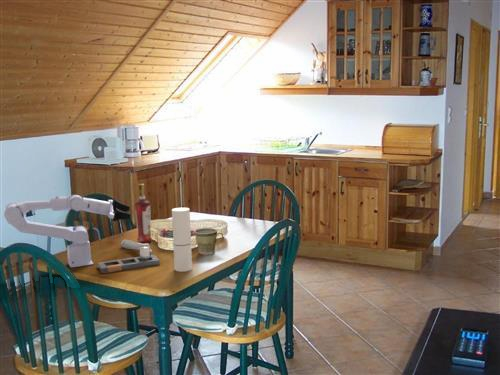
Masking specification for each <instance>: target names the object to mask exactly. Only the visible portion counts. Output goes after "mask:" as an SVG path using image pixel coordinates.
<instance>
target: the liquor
mask: <svg viewBox="0 0 500 375" xmlns="http://www.w3.org/2000/svg"><path fill="white" fill-rule="evenodd" d="M145 189H146V188H145V184H144V183H138V190H139V192H138V193H139V195H138V198H139V200H137V201H135V203H134V209H135V210H134V211H135V217H136V218H135V219H136V229H137V241H138V243H142V244H146V243H148V244H149V243H150V242H151V241H152V239H153V238H152V234H151V232H152V230H151V229H152V227H151V224H152V223H151V212H152V211H151V202H150V201H149V200H146V194H145Z"/></svg>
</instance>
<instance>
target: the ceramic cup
mask: <svg viewBox="0 0 500 375" xmlns="http://www.w3.org/2000/svg"><path fill="white" fill-rule="evenodd" d="M194 235H195V236H194V237H195V241H196V244H197V248H198V253H199V254H201V255H212V254H214V253H215V251H216V250H215V249H216V245H217V244H218V243H219V242H220V241H222V240H223V238H224V234H223V233H222V232H218V229H216V228H212V227H203V228H199V229H198V228H197V229H195V230H194ZM219 235H221V238H219V240H217V237H218V236H219Z"/></svg>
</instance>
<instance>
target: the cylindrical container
mask: <svg viewBox="0 0 500 375" xmlns="http://www.w3.org/2000/svg"><path fill="white" fill-rule="evenodd" d="M190 210H191V209H190V208H189V207H174V208H172V209H171V221H172V223H171V224H172V241H173V242H172V244H173V263H174V271H176V272H181V273H182V272H183V273H184V272H188V271H191V270H192V269H193V259H192V256H193V255H192V236H191V233H192V232H191V214H190Z"/></svg>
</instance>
